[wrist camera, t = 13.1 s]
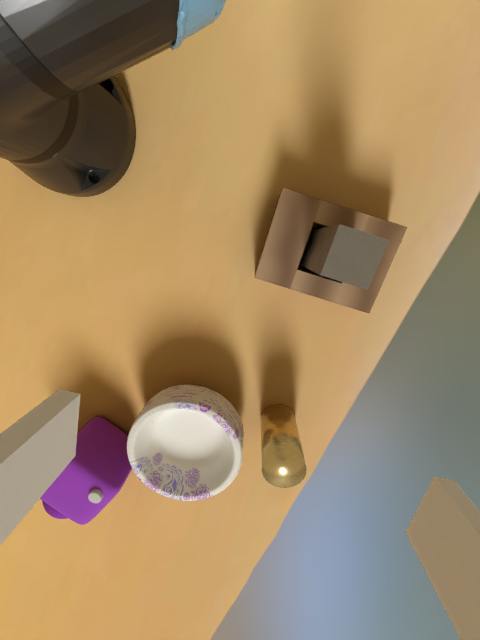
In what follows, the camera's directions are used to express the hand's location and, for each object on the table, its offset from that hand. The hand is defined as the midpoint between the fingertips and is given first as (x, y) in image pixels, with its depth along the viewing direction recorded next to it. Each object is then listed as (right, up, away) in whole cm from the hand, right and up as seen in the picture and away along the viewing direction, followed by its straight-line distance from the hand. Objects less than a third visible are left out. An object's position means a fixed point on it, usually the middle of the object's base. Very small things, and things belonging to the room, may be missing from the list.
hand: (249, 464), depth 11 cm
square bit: (+10, +14, +26) cm, 31 cm away
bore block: (+10, +14, +26) cm, 31 cm away
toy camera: (-23, -16, +37) cm, 46 cm away
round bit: (+5, -10, +33) cm, 35 cm away
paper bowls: (-7, -10, +34) cm, 36 cm away
